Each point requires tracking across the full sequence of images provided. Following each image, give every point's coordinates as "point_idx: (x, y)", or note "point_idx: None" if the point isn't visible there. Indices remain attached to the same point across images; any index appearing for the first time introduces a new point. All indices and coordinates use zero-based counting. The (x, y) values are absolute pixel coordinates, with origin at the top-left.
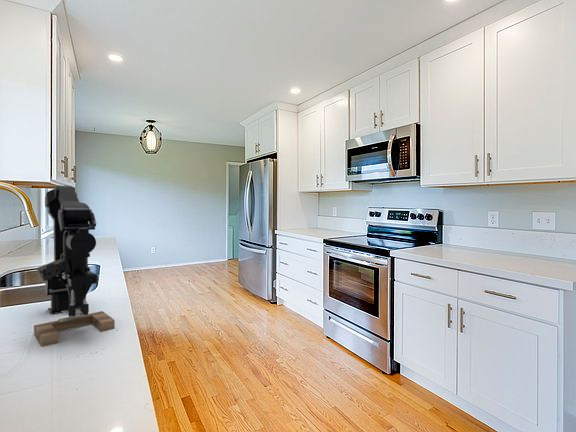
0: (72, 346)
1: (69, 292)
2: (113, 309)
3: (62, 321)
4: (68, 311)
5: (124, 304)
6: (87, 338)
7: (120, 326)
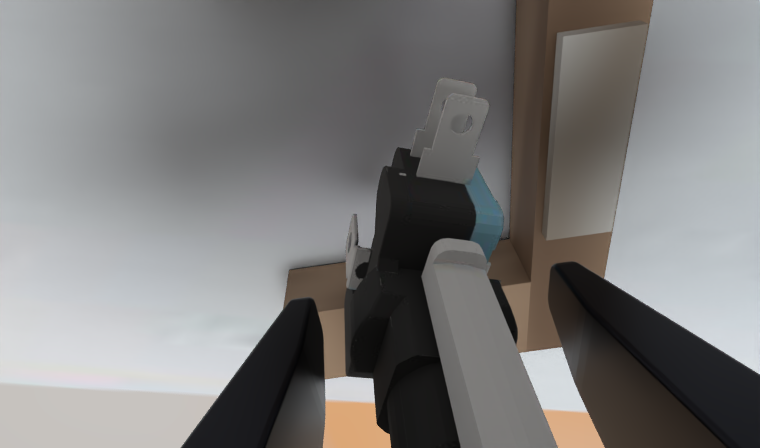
0: (47, 82)
1: (667, 393)
2: None
3: (555, 58)
4: (384, 176)
5: None
6: (191, 188)
7: None
